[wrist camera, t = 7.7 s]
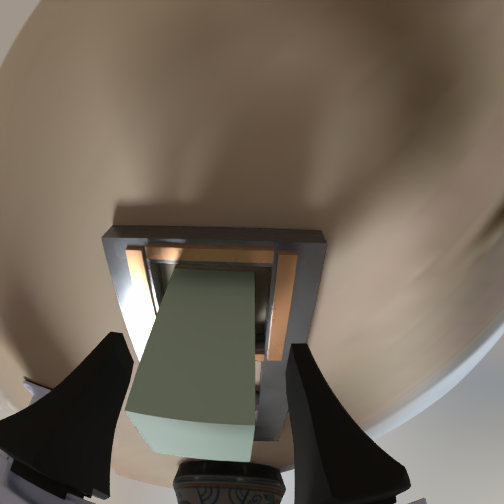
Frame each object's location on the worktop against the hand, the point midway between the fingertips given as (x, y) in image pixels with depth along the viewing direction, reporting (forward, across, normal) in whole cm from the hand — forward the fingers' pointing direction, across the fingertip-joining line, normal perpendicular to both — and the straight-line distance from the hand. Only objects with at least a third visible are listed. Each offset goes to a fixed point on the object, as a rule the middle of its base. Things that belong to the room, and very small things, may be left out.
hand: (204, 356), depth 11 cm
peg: (+4, 0, 0) cm, 4 cm away
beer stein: (+4, +1, +35) cm, 35 cm away
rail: (+4, 0, +6) cm, 8 cm away
